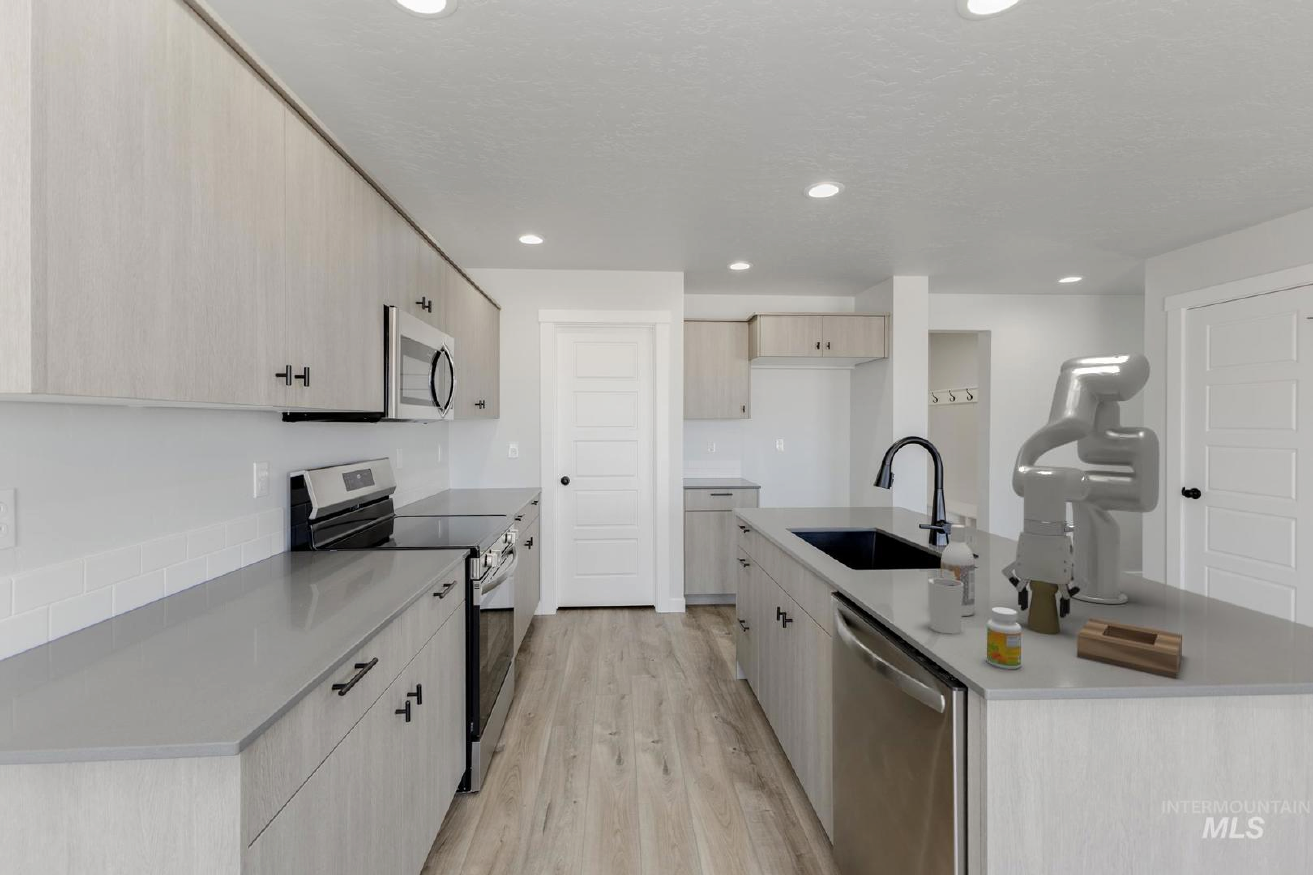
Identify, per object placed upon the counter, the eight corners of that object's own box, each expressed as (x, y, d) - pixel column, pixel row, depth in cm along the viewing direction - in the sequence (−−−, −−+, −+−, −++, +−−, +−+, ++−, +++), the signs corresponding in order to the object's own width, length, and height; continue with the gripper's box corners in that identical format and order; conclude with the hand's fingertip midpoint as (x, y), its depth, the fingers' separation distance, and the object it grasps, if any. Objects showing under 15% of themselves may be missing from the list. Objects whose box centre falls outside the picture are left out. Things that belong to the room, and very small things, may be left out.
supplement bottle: (980, 658, 111) (980, 606, 111) (1007, 657, 112) (1008, 605, 112) (999, 670, 106) (999, 615, 106) (1028, 669, 106) (1028, 614, 106)
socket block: (1090, 637, 122) (1090, 617, 122) (1181, 655, 112) (1182, 634, 112) (1077, 656, 112) (1077, 635, 112) (1176, 678, 102) (1176, 655, 102)
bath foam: (933, 609, 140) (934, 524, 140) (955, 605, 143) (956, 522, 143) (959, 618, 134) (959, 529, 134) (981, 614, 137) (982, 526, 136)
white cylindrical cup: (945, 622, 131) (946, 576, 131) (970, 632, 125) (970, 584, 125) (921, 625, 129) (921, 579, 129) (944, 636, 123) (945, 587, 123)
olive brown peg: (1065, 635, 123) (1066, 581, 123) (1033, 633, 124) (1033, 580, 124) (1052, 625, 129) (1053, 574, 129) (1021, 623, 130) (1022, 573, 130)
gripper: (1097, 530, 123) (1096, 617, 123) (1003, 521, 135) (1002, 600, 135) (1091, 535, 118) (1090, 626, 118) (993, 525, 130) (992, 608, 130)
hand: (1043, 612), depth 127 cm, fingers open, 6 cm apart
